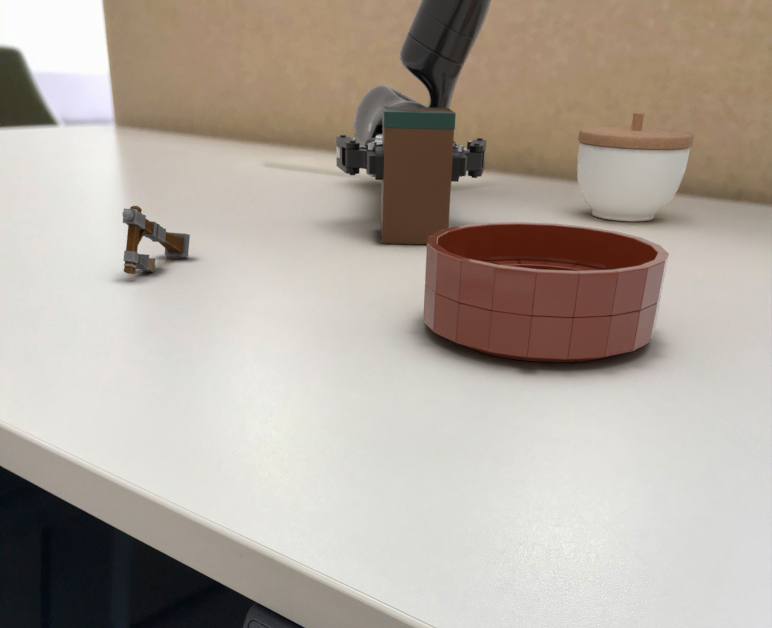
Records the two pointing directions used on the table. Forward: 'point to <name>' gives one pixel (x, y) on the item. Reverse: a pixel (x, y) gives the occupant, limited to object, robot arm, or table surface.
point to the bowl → (543, 290)
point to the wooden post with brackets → (141, 227)
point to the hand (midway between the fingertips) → (418, 166)
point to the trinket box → (630, 169)
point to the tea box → (416, 173)
